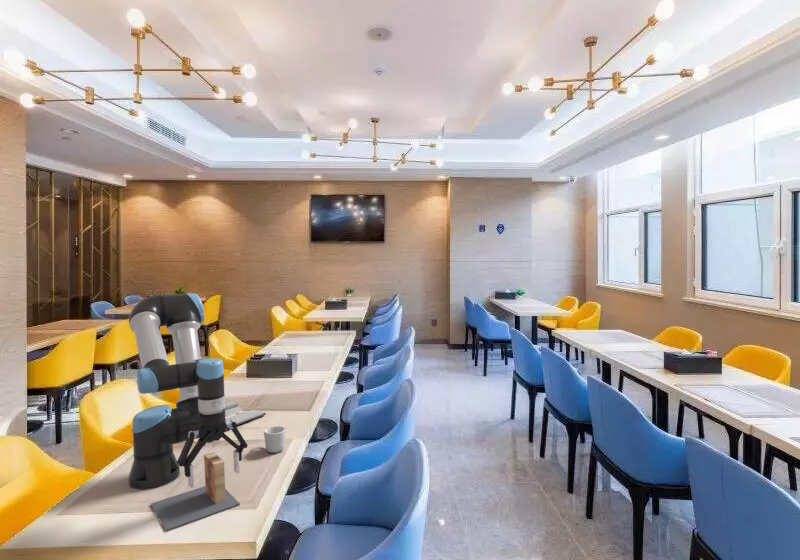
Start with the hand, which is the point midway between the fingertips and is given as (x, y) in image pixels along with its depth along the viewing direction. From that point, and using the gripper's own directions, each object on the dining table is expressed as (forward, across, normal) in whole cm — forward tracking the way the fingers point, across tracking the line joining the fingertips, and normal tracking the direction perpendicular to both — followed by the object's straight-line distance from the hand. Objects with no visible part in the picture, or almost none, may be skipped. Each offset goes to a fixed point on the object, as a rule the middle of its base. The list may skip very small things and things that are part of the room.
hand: (214, 478), depth 143 cm
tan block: (+6, 0, 0) cm, 6 cm away
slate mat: (+6, -6, 0) cm, 8 cm away
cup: (+6, +29, +22) cm, 37 cm away
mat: (+7, +28, +67) cm, 73 cm away
